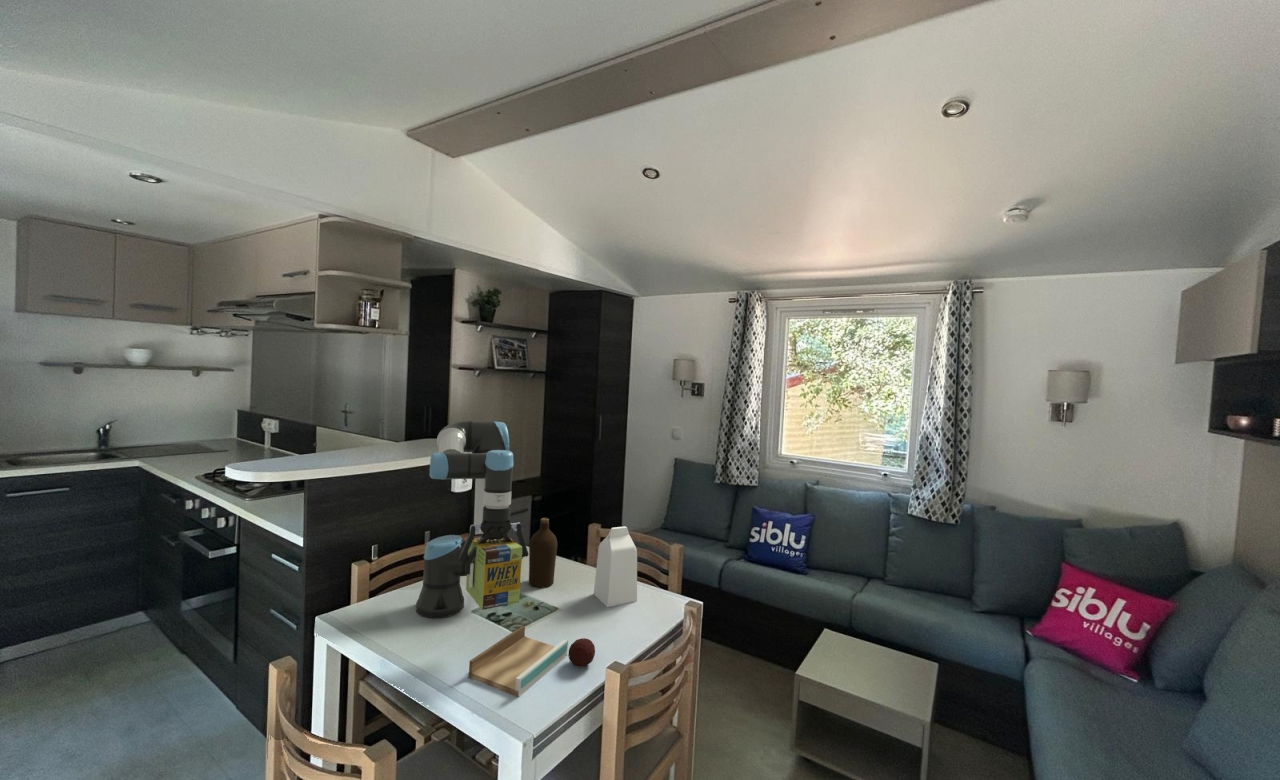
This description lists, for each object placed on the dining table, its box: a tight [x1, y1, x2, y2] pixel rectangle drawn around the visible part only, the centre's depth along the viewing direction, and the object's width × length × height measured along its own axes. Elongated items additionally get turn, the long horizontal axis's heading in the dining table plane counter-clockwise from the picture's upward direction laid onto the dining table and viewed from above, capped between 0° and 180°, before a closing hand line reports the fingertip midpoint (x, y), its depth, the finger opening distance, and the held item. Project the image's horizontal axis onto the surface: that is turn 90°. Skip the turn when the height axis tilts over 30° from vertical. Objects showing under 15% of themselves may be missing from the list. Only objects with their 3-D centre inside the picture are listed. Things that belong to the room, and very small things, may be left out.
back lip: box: [468, 625, 526, 680], centre depth 141 cm, size 1×22×4 cm, turn 156°
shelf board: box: [467, 636, 556, 698], centre depth 138 cm, size 16×22×2 cm
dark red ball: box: [567, 637, 596, 668], centre depth 141 cm, size 7×8×7 cm
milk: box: [593, 526, 638, 608], centre depth 186 cm, size 12×12×26 cm
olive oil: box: [528, 517, 558, 589], centre depth 194 cm, size 11×11×25 cm
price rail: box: [515, 638, 569, 698], centre depth 135 cm, size 1×22×4 cm, turn 155°
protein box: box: [465, 536, 523, 611], centre depth 142 cm, size 10×15×16 cm
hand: (492, 583), depth 142 cm, fingers closed on protein box, 11 cm apart
